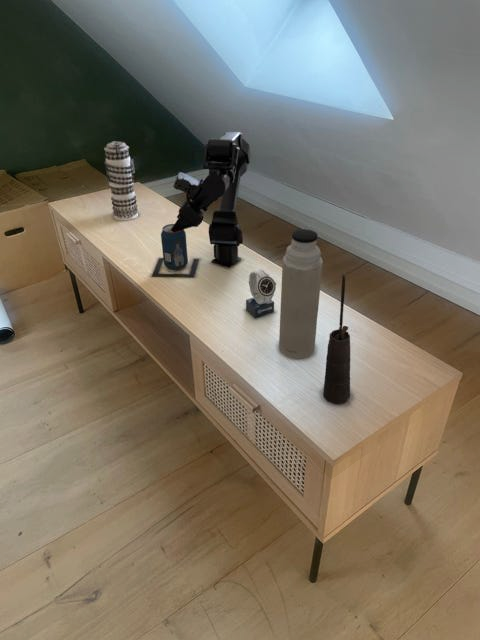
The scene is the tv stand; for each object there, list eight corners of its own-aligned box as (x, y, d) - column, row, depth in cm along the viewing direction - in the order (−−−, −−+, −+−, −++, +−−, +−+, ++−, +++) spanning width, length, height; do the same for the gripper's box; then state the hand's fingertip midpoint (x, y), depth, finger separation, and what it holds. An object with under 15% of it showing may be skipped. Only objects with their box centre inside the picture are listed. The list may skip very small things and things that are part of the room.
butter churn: (334, 370, 106) (349, 251, 90) (371, 394, 100) (394, 270, 84) (304, 390, 101) (314, 267, 85) (341, 415, 95) (359, 289, 79)
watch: (258, 322, 121) (259, 283, 115) (242, 306, 127) (242, 268, 121) (278, 316, 123) (280, 277, 117) (261, 301, 129) (262, 263, 123)
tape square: (159, 258, 149) (158, 258, 149) (198, 259, 149) (198, 258, 149) (151, 276, 140) (151, 276, 140) (194, 277, 140) (194, 276, 140)
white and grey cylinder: (111, 212, 179) (100, 140, 165) (137, 209, 182) (128, 138, 168) (114, 222, 172) (102, 148, 158) (141, 218, 175) (131, 145, 160)
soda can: (174, 258, 149) (170, 221, 143) (192, 264, 146) (190, 226, 139) (159, 268, 144) (154, 229, 138) (178, 274, 141) (174, 235, 135)
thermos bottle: (271, 349, 112) (275, 234, 96) (292, 333, 117) (298, 221, 102) (301, 363, 108) (310, 246, 92) (321, 346, 113) (333, 231, 97)
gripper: (195, 153, 136) (159, 192, 142) (185, 174, 120) (144, 217, 127) (225, 182, 140) (188, 219, 146) (218, 206, 124) (178, 246, 131)
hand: (175, 224), depth 137 cm, fingers open, 9 cm apart
